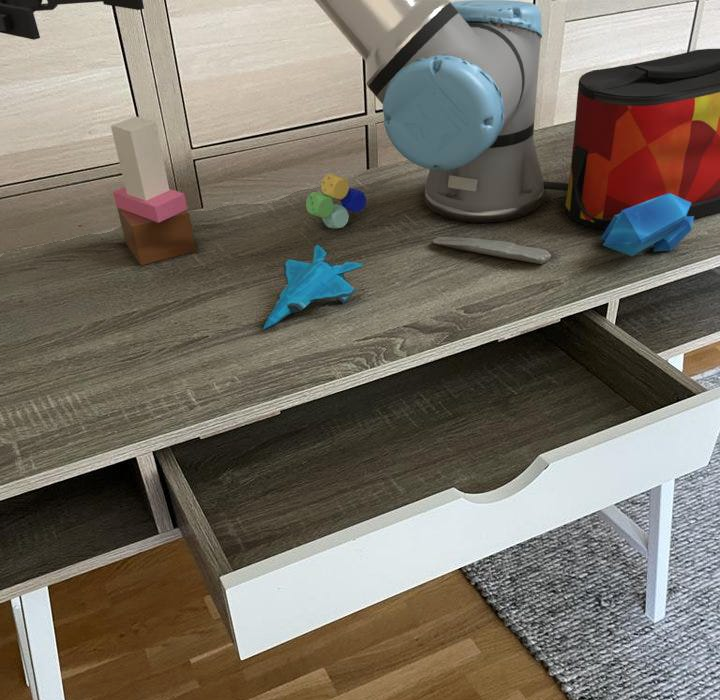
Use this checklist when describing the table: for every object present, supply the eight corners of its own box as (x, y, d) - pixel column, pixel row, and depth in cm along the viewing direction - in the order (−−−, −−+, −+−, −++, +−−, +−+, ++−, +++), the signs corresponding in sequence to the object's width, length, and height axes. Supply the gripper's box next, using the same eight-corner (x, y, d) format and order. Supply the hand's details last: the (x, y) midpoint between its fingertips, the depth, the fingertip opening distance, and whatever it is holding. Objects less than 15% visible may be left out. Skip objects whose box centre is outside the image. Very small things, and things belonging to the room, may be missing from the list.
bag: (719, 159, 118) (748, 27, 108) (796, 193, 109) (836, 52, 98) (532, 204, 110) (543, 66, 99) (597, 246, 100) (617, 98, 90)
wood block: (179, 230, 111) (171, 192, 107) (196, 251, 106) (188, 212, 102) (126, 243, 108) (116, 205, 105) (141, 265, 104) (131, 226, 100)
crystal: (718, 244, 96) (624, 289, 95) (673, 229, 103) (585, 271, 103) (709, 179, 92) (610, 226, 91) (662, 169, 99) (571, 212, 99)
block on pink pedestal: (187, 209, 103) (171, 123, 97) (158, 223, 101) (139, 135, 94) (145, 195, 107) (127, 111, 101) (116, 207, 105) (95, 123, 98)
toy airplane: (291, 277, 99) (286, 243, 96) (374, 280, 97) (371, 245, 95) (262, 331, 91) (256, 295, 88) (353, 334, 89) (350, 298, 86)
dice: (356, 211, 112) (353, 162, 108) (369, 217, 110) (366, 167, 106) (306, 230, 109) (300, 179, 104) (318, 236, 107) (313, 186, 103)
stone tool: (558, 245, 99) (543, 256, 95) (556, 257, 100) (542, 269, 96) (445, 229, 105) (428, 238, 101) (445, 240, 106) (427, 250, 102)
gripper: (77, 3, 112) (184, 21, 101) (-104, 51, 98) (-4, 78, 87) (61, -64, 107) (171, -54, 96) (-133, -23, 93) (-30, -6, 82)
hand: (88, 9), depth 92 cm, fingers open, 13 cm apart
